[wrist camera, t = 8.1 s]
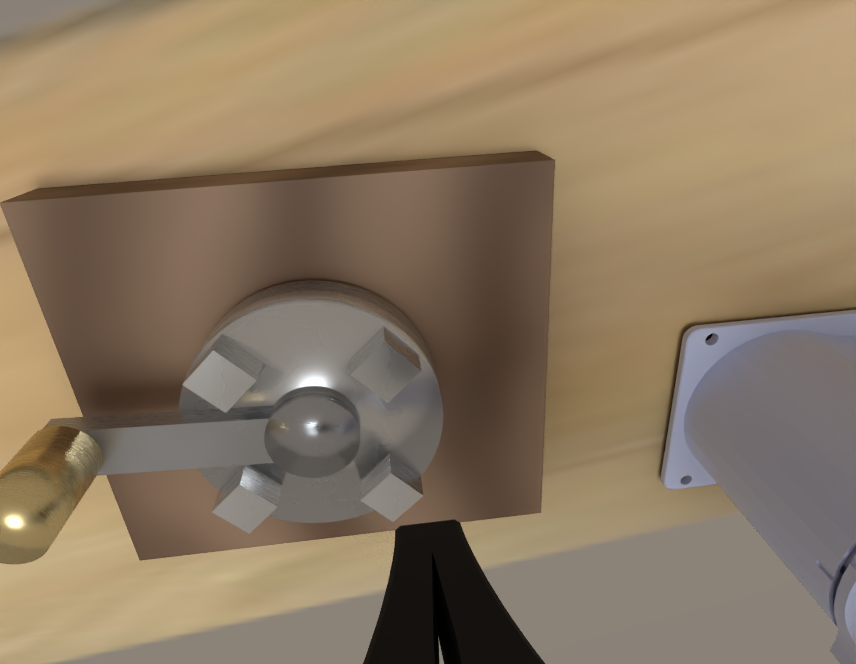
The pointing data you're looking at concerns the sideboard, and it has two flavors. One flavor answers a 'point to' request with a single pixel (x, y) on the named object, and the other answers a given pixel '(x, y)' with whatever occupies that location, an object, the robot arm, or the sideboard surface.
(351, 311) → the grey crank wheel
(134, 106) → the sideboard surface
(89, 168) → the sideboard surface
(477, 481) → the base plate
